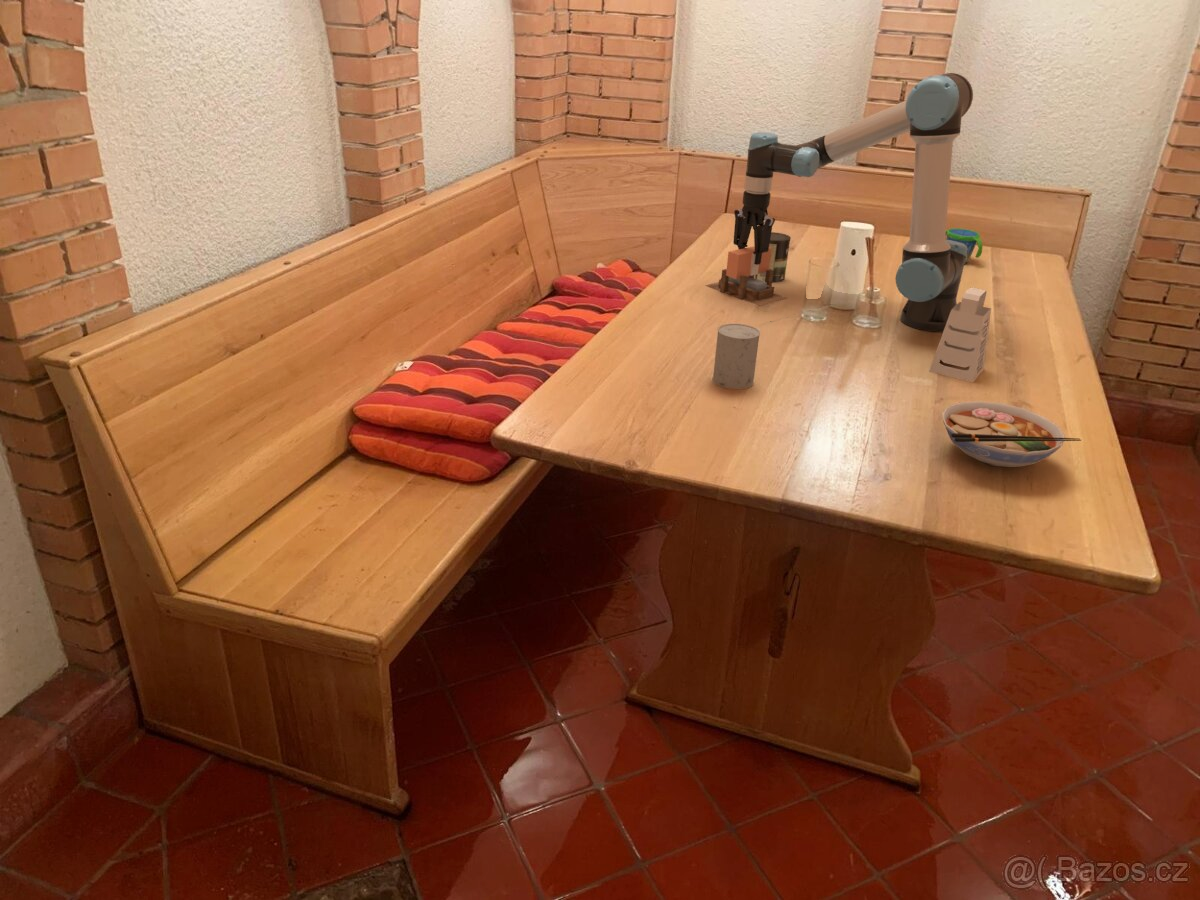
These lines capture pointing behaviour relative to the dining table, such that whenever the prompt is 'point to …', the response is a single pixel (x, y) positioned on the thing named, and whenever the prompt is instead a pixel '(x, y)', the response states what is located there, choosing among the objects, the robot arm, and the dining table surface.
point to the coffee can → (777, 257)
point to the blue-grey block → (751, 283)
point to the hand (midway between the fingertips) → (747, 272)
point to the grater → (964, 338)
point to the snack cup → (966, 240)
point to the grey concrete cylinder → (736, 356)
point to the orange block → (745, 262)
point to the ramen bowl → (1002, 433)
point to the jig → (748, 289)
